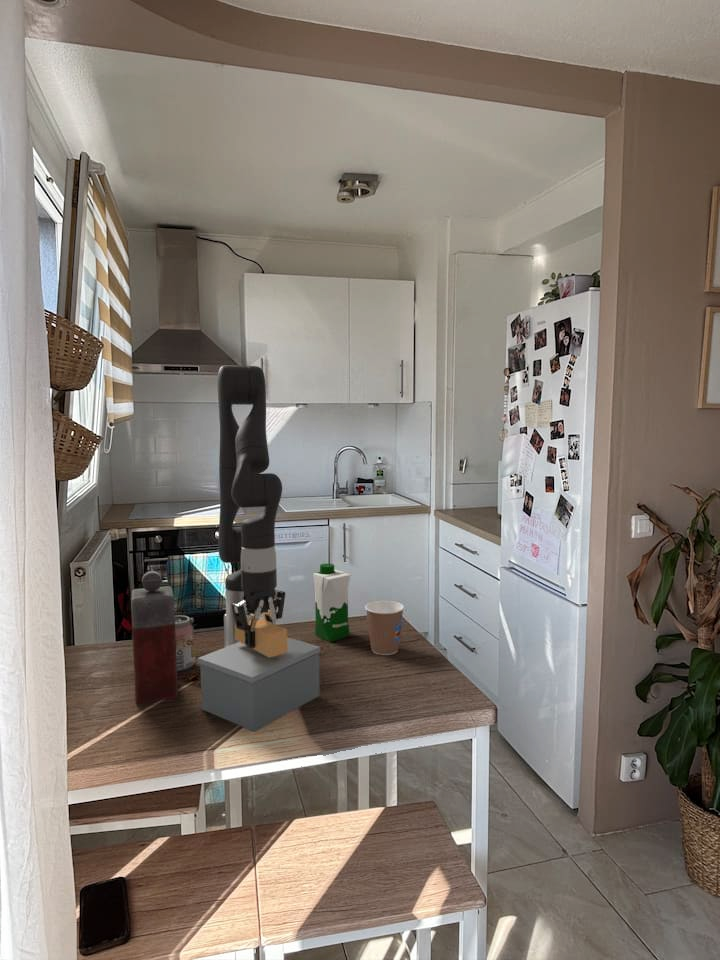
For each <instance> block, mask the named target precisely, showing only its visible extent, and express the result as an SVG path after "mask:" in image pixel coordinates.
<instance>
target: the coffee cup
mask: <svg viewBox="0 0 720 960" xmlns="http://www.w3.org/2000/svg"><path fill="white" fill-rule="evenodd" d="M364 608H365V610H366V618H367V619H366V621H367V628H368V634H369V642H370V647H371V651H373V652H372V653H374V654H375V653H376V654H375V655H379V654H380V655H379V656H390V655H395V654H396V653H397V652H398V650H399V646H400V638H401V630H402V623H403V613H404V609H405V606H404V604H402V603H400V602H397V601H393V600H378V601H377V600H376V601H371V602H369V603H367V604H365V607H364Z"/></svg>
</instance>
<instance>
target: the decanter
mask: <svg viewBox="0 0 720 960" xmlns="http://www.w3.org/2000/svg"><path fill="white" fill-rule="evenodd" d="M162 582H163V580H162V576H161V574H160V573H159V572H158V571H156V570H148V571H146V572H145V573H144V574H143V575H142V578H141V585H142V588H134V589H132V590H131V599H130V600H131V602H130V606H131V607H130V609H131V610H130V611H131V630H132V650H133V654H132V655H133V671H134V674H133V675H134V677H133V678H134V692H135V694H134V695H135V704H140V703H147V702H154V701H155V702H156V701H162V700H169V699H177V698H178V697H179V694H178V690H179V689H178V688H179V687H178V671H177V661H176V635H175V616H176V611H175V609H176V608H175V596H174V591H173V588H172V586H170V585H166V586H162V584H163V583H162Z"/></svg>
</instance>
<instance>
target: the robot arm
mask: <svg viewBox="0 0 720 960" xmlns="http://www.w3.org/2000/svg"><path fill="white" fill-rule="evenodd" d="M266 386H267V385H266V378H265V373H264V371H263V369H262V368H261V366H260V367H259V366H256V365H233V364H232V365H228V364H227V365H226V364H225V365H222V366H220V368H219V370H218V373H217V399H218V400H217V401H218V419H219V459H218V460H219V461H218V463H219V464H218V477H219V479H218V481H219V501H220V502H219V503H220V504H219V523H218V524H219V525H218V540H217V541H218V542H217V545H218V546H217V547H218V555H219V558H220V560H221V562H222V563H226V564H227V563H228V564H229V563H230V564H231V563H233V564H234V563H240V569H239V570H237V571H234V572H232V573H230V574H228V575H227V576H226V578H225V580H224V581H225V583H224V584H225V585H224V586H225V587H224V588H225V614H224V615H223V628H224V629H223V631H224V648H225V647H228V646H230V645H233V644H235V643H238V642H239V641H237V640H235V623H236V627H237V629H240V630H243V631H245V644H246V646H247V647H249V648H254V647H255V631H254V630H255V626H256V622H257V621H258V620H259V617H261V618H263V619H265V620H267V621H270V622H272V623H274V624H276V623H277V621H278V620H279V619H282V618H283V615H284V614H283V613H284V608H285V601H286V600H285V599H286V592H285V591H282V590H278V589H276V588H277V585H278V584H277V583H278V582H277V581H278V580H277V579H278V577H277V575H278V573H277V552H276V546H275V545H276V544H275V542H276V537H275V531H276V530H275V526H276V518H277V512H278V508H279V507H280V506H279V505H280V501H281V498H282V495H283V483H282V480H281V478H280V477H279V476H278V475H277V474H275V473H270V472H269V473H265V472H266V470H268V468H269V466H270V455H269V447H268V441H267V440H268V439H267V429H266V428H267V390H266V389H267V387H266ZM234 405H239V406H240V405H247V406H248V405H252V408H251V409H250V412H249V414H248V415H247V416H246V418H245V419H244V421H243V422H242V423H241V425H240V426H239V424H238V422H237V420H236V417H235V416H234V411H233V406H234ZM262 507H263V508H264V509H263V510H262V512H261V513H260V514H258V515H255V516H252V517H249V518H246V519H243V520H242V522H241V525H240V526H234V521H235V518H236V516H237V513H238V512H239V510H240V508H262ZM250 614H254V616H251V615H250ZM262 614H263V617H262ZM250 620H251V624H250V625H249V623H250Z"/></svg>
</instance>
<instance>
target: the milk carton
mask: <svg viewBox="0 0 720 960" xmlns="http://www.w3.org/2000/svg"><path fill="white" fill-rule="evenodd" d="M351 576H352V575H351V574H349V573H346V572H345V571H341V570H339V569H335V564H333V563H322V564H320V565H319V571H317V572H315V573H312V578H313V582H314V583H313V584H314V590H315V591H314V593H315V594H314V595H315V597H314V599H315V601H314V603H315V606H314V607H315V612H314V613H315V625H314V627H315V630H314V631H315V633H314V635H315V636H316V637H319V638H320V639H322V640H325V641H327V642H329V643H331V642H335V640H336V641H338V639H339V640H342V639H341V638H343V639H345V638H344V637H346V638H348V637H347V636H350V637H351V635H350V633H351V632H350V625H349V585H350V580H351Z"/></svg>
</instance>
